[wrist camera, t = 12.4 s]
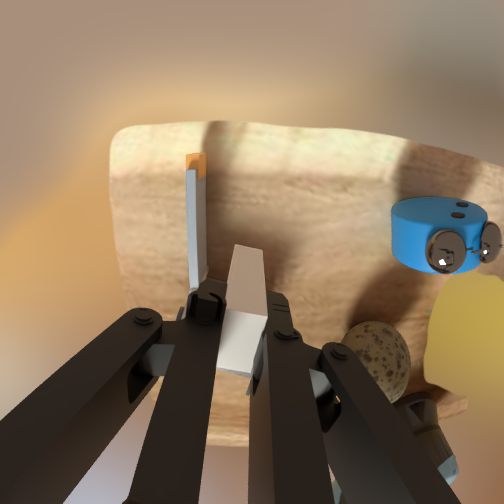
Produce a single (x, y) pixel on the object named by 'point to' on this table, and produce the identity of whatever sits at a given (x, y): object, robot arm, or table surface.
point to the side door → (196, 218)
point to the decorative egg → (381, 355)
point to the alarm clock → (443, 235)
